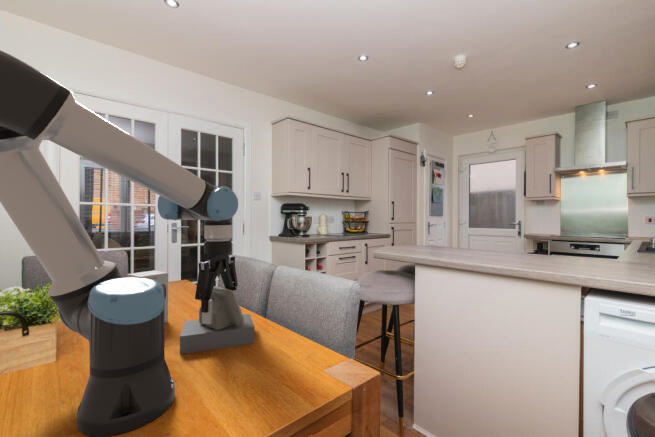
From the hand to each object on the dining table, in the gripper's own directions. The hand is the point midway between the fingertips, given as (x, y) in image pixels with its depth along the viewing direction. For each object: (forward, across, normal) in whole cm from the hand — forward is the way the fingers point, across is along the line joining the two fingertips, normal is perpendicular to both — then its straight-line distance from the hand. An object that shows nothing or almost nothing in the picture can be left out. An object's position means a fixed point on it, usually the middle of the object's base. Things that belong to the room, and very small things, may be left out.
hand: (218, 317), depth 87 cm
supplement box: (+7, -5, -31) cm, 32 cm away
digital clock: (+2, 0, 0) cm, 2 cm away
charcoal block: (+7, 0, 0) cm, 7 cm away
